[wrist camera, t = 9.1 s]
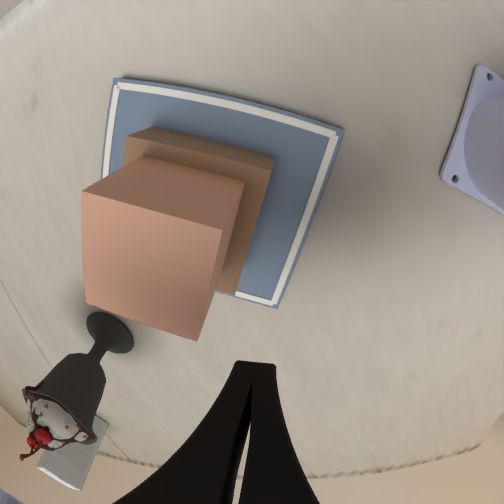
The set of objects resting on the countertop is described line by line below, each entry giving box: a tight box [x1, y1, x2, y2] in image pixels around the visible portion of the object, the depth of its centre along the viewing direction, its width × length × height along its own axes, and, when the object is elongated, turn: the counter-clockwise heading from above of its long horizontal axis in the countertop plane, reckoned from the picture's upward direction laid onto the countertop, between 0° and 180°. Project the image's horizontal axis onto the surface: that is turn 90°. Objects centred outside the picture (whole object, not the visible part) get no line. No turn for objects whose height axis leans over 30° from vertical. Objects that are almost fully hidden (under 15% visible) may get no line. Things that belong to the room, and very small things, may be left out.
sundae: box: [20, 313, 133, 461], centre depth 19 cm, size 7×7×15 cm
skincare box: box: [36, 415, 108, 491], centre depth 31 cm, size 6×4×12 cm
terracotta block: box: [82, 156, 245, 341], centre depth 13 cm, size 5×5×5 cm
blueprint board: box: [101, 78, 344, 309], centre depth 17 cm, size 13×12×4 cm
